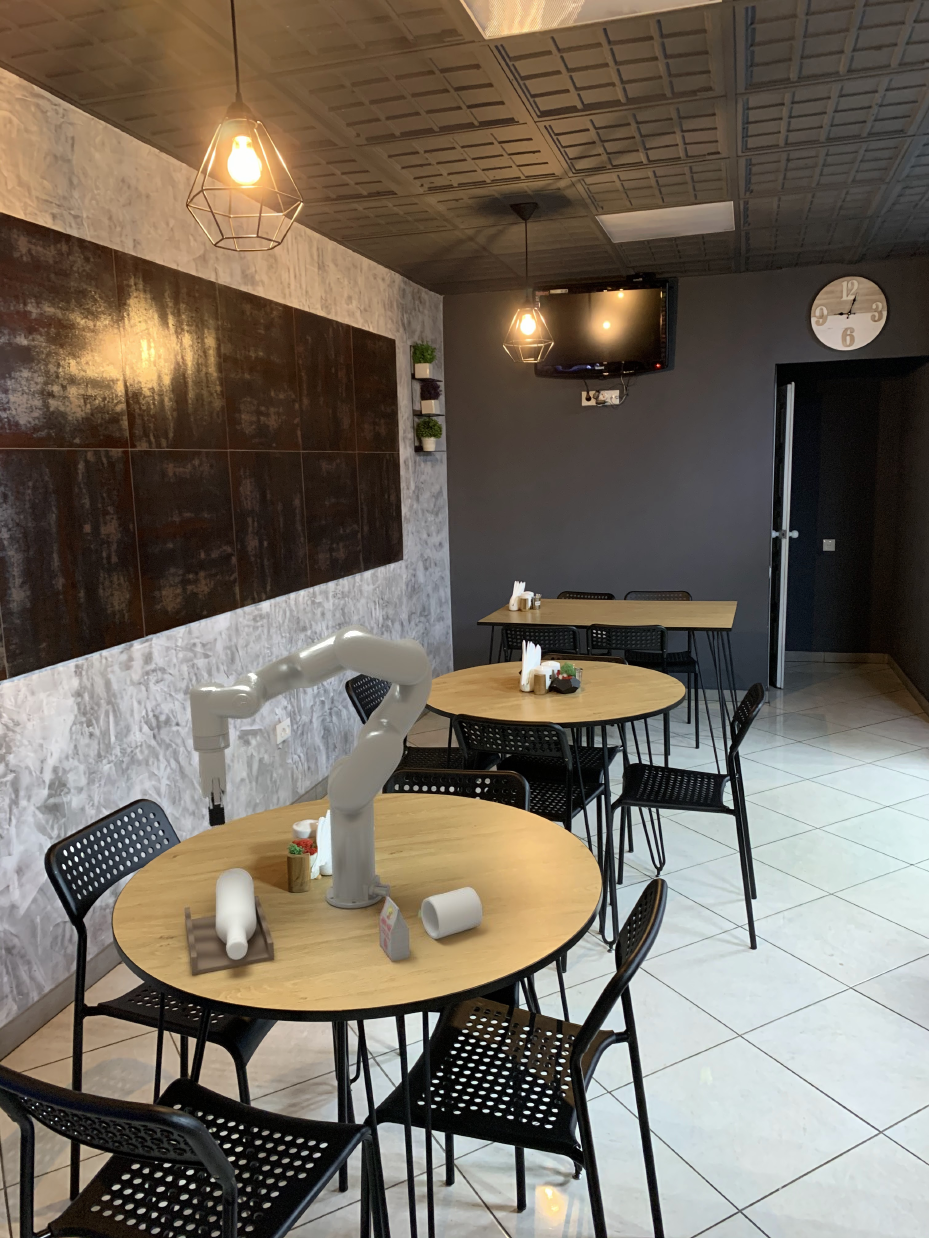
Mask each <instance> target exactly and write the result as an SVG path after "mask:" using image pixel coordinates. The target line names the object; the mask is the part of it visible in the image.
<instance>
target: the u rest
mask: <svg viewBox="0 0 929 1238" xmlns="http://www.w3.org/2000/svg"><path fill="white" fill-rule="evenodd" d="M254 899H255V910H256V929H255V931H254V934H253V935H252V937H251V938H250V939H249V940H248V941H247V944H248V949H247V952H246V954H245V956H244V957H242V958H241V959H237V960H236V959H232V958H230V957H229V956H228V954H227V951H226V945H227V944H226V943H224V942H223V941H222V940H221V939H220V938H219V936H218V935H217V932H216V914H215V915H214V914H212V915H208V916H202V917H196V918H192V915H191V908H190V907H184V922H185V930H186V937H187V945H188V953H189V960H190V967H191V975H192V976H195V975H200V974H206V973H212V972H217V971H221V970H227V969H231V968H238V967H243V966H248V965H254V964H258V963H264V962H267V961H275V947H274V946H275V945H274V944H275V942H274V940H273V937H272V934H271V930H270V927H269V925H268V922H267V919H266V916H265V912H264V909H263V906H262V904H261V901H260V898H259V895H254Z"/></svg>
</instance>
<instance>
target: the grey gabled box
mask: <svg viewBox="0 0 929 1238" xmlns="http://www.w3.org/2000/svg"><path fill="white" fill-rule="evenodd" d="M378 925H379V927H378V928H379V929H378V930H379V947H380V948H381V949H382V951H383V953H384V954H385V955H386V956H387V958H388V960H389V961H390V962H397V961H400V960H405V959H409V958H411V956H410V955H411V952H410V927H409V926H408V924H407V922H406V921H405V919H404V917H403V915H402V912H401V909H400V907H399V906H397V904H396V903H395V901H393V900H392V899H391V897H390V895H389V896H388V897H387V896H386V897H385V900H384V904H383V906H382V909H381V912H380V914H379V917H378Z"/></svg>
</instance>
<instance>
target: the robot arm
mask: <svg viewBox="0 0 929 1238" xmlns="http://www.w3.org/2000/svg"><path fill="white" fill-rule="evenodd" d="M426 652H427V651H426V650H425V648H424V647H423V645H422V644H421V643H420V642H419V641H417V640H415V639H413V638H407V637H405V638H400V639H398V640H397V641H395V640H392V639H387V638H384V637H381V636H378V635H376V634H373V633H372V632H371V631H370V630H369V629H368V628H367V627H366V626H363V625H361V624H351V625H348V626H345V627H343V628H341V629H338V630H337V631H335V632H333V633H331V634H328V635H327V636H325V637H323V638H321V639H318V640H316V641H314V642H313V643H310V644H309V645H308V644H307V646H304V647H302V648H300V649H298V650H296V651H294V652H291V653H289V654H287V655H285V656H283V657H280V658H279V659H276V660H274V661H272V662H269V663H267V664H265V665H263V666H261V667H259V668H256V669H255V670H252V671H251V672H248V673H247V674H245V675H243V676H241V677H240V678H238V679H236V681H235V682H233V684H232V685H228V686H225V685H224V684H223V683H221V682H211V681H210V682H202V683H198V684H195V685H193V686H192V687H191V688H189V707H190V718H191V721H190V722H191V734H192V745H193V747H192V749H193V751H194V752H196V753H198V771H199V787H200V792H201V797H202V798H203V799H205V800H206V799H207V798H208V806H207V808H208V809H207V810H208V811H207V812H208V822H209V827H217V826H223V825H226V815H225V814H226V813H225V805H224V797H225V796H226V795H227V767H226V766H227V765H226V764H227V763H226V762H227V761H226V750H227V749H229V748H230V747H231V741H230V740H231V739H230V728H229V719H232V720H233V719H234V720H247V719H251V718H253V717H255V716H256V715H257V714H258V713H259V712H260V710H261V708H262V706H263V705H264V704H265V703H267V702H269V701H271V700H273V699H275V698H277V697H280V696H282V695H283V694H286V693H288V692H290V691H294V690H298V689H310V688H315V687H316V686H319V685H321V684H323V683H324V682H326V681H328V680H330V679H333V678H334V677H336V676H339V675H340V674H343V673H345V672H347V671H349V670H350V671H352V672H355V673H358V674H361V675H364V676H367V677H370V678H375V679H378V680H382V681H385V682H389V683H391V686H390V688H389V690H388V692H387V693H386V695H385V696H384V698H383V699H382V701H381V703H380V704H379V705H378V707H377V708H376V709H375V711H374V712H373V713H372V715H371V716H370V717H369V718H368V720H367V721H366V722H365V723H364V725H363V726H362V727H361V729H360V731H359V732H358V736H357V743H356V745H355V747H354V748H353V750H352V751H351V753H349V755H343V756H341V757H340V758H338V759H337V760H335V762H334V763H333V764H332V766H331V767H330V770H329V772H328V780H327V790H326V791H327V798H328V801H329V818H330V819H329V821H330V824H329V825H330V848H331V849H330V853H331V877H332V881H331V882H332V885H331V886H330V887H329V888H328V889H327V890H326V892H325V899H326V902H327V903H328V904H330V905H331V906H333V907H337V908H341V909H360V908H365V907H369V906H372V905H373V904H377V903H378V902H379V901H380V900H382V898H386V896H387V897H388V896H389V897H390V895H391V884H389V883H382V881H381V875H379V874H376V851H375V850H376V846H375V813H374V812H375V807H374V805H375V804H374V799H375V798H376V796H377V795H378V794H379V792H380V791H381V790H382V789H383V787H384V785H386V783H387V781H388V780H390V777H391V776H392V774H393V773H394V771H395V770H396V769H397V767H398V765H399V763H400V762H401V760H402V756H403V753H404V739H405V738H406V736H407V735H408V733H409V731H410V730H411V729H412V728H413V726H414V724H415V723H416V721H417V719H418V718H419V717H420V715H421V713H422V712H423V711H424V709H425V707H426V706H427V703H428V702H429V701H428V700H429V698H430V696H431V692H432V685H433V671H432V666H431V663H430V659H429V657H428V654H427V653H426Z"/></svg>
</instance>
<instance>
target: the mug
mask: <svg viewBox="0 0 929 1238" xmlns="http://www.w3.org/2000/svg"><path fill="white" fill-rule="evenodd" d="M482 906H483V905H482V902H481V899H480V897H479V895H478V893H477V891H475V889H474V888H472V887H470V886H464V887H461V888H458V889H454V890H451V891H448V892H444V893H438V894H434V895H433V894H432V895H431V896H429V897H426V898H425V899H423V900H422V902H421V907H420V915H421V921H422V924H423V927H424V930H425V932H426V933H427V935H428V936H429V937H430V938H432V939H434V940H438V939H441V938H445V937H448V936H450V935H454V934H457V933H460V932H463V931H467V930H470V929H473V928H476V927H479V926H480V925H481V924H482V921H483V913H484V912H483V907H482ZM477 925H478V926H477ZM474 926H475V927H474ZM471 927H472V928H471Z"/></svg>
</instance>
